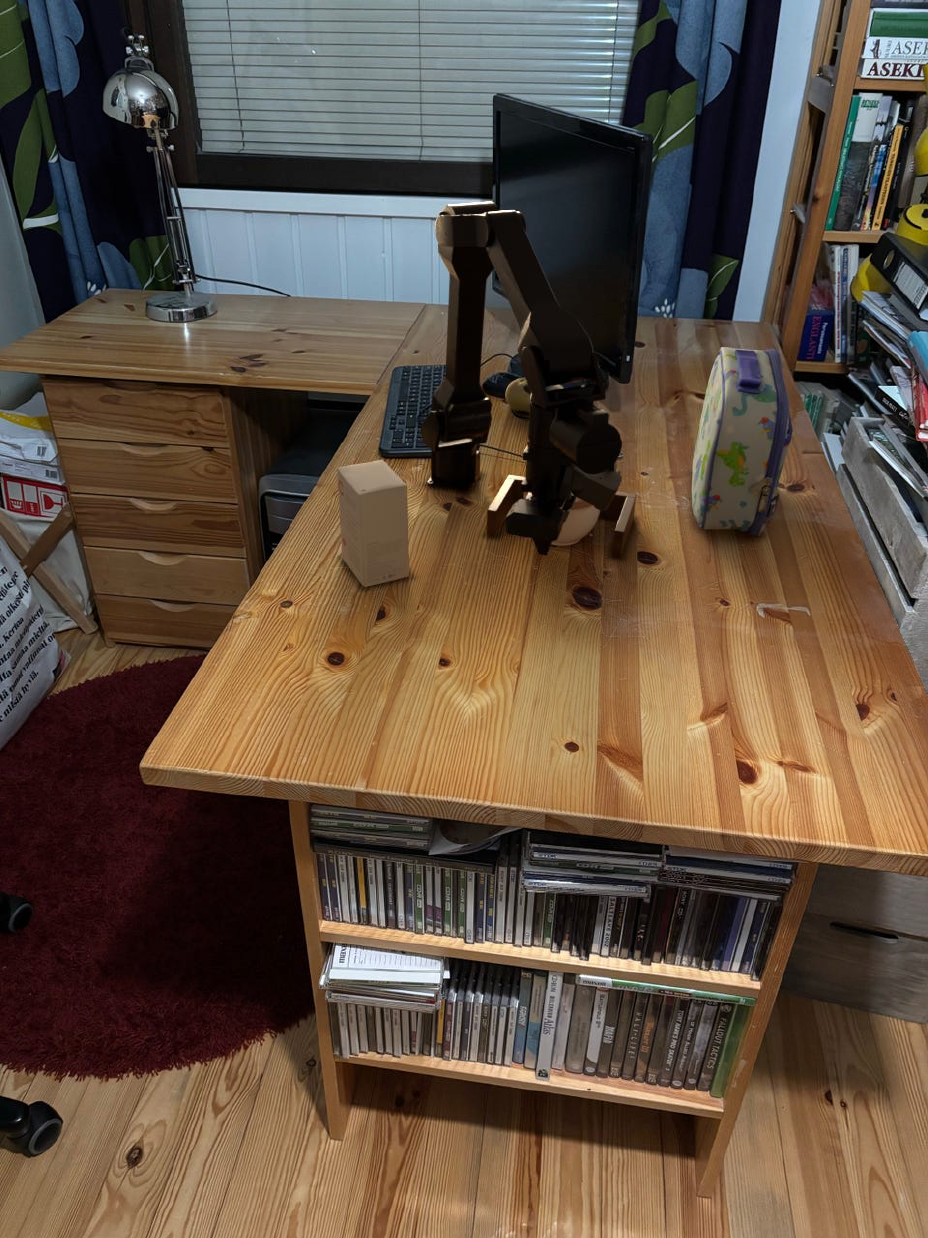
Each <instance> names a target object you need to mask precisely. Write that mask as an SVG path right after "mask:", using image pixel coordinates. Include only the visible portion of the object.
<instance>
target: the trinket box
mask: <svg viewBox="0 0 928 1238" xmlns="http://www.w3.org/2000/svg"><path fill="white" fill-rule="evenodd" d="M527 494H528V492H524V500H525V498H526V496H527ZM571 495H573V494H572V492H571ZM568 511H570V513H569V515H568V517H567V520H566V521H565V522H564V523H563V526H562V530H561V532H560V534H559V537H558V539H557V540H555V541H552V544H551V546H556V547H565V546H566V547H569V546H572V545H575V544H577V543H579V542H580V541H581V540H582V539H583V538H584V537H586V536H588V534H590V532H591V531H592V530H593V528H594V527H595V526H596V524H597V522H598V519H599V518H598V517H599V514H600V511H601V510H598V509H596V508H595V507H594V506H593V505H591V504H589V503H587V502H585V501H583V500H581V499H579V498H577V497H576V499H575V502H574V504H573V506H572V508H570V509H569V510H568Z"/></svg>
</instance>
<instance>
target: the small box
mask: <svg viewBox="0 0 928 1238" xmlns="http://www.w3.org/2000/svg"><path fill="white" fill-rule="evenodd" d="M336 479H337V493H338V494H337V495H338V508H339V510H338V511H339V525H340V527H339V528H340V542H341V543H340V544H341V558H342V560H343V561H344V562H345V564H346V565H347V567H348V568H349V569H350V570H351V572H352V573H353V575H354V576H355V578H356V579H357V580H358V582H359V583H360V584H361V585H362V587H363V588H368V587H371V586H376V585H380V584H385V583H389V582H393V581H397V580H400V579H404V578H408V577H410V556H409V555H410V554H409V511H408V508H409V507H408V484H407V483H405V481H404V480H403V479H402V478H401V477H400V476H399V475H398V474H397V473H396V472H395V471H394V469H392V467H390V465H388V464H387V462H386V461H384V459H378V460H373V461H368V462H361V463H356V464H349V465H345V466H339V467H337V468H336Z"/></svg>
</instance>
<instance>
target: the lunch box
mask: <svg viewBox="0 0 928 1238" xmlns="http://www.w3.org/2000/svg"><path fill="white" fill-rule="evenodd" d="M703 399H704V400H703V405H702V409H701V415H700V420H699V424H698V430H697V436H696V442H695V446H694V453H693V460H692V472H691V508H692V512H693V513H692V514H693V516H694V518H695V521H696V523H697V526H698V528H700V529H703V530H731V531H733V530H737V531H739V532H747V533H748V534H749V535H751V536H754V537H760V536H761V534H762V532H763V530H764V529H765V527H766V525H767V524H771V523H772V522H773V521H774V517H775V514H776V510H777V507H778V503H779V498H780V494H776V493H777V490H778V486H779V483H780V479H781V476H782V472H783V469H784V465H785V461H786V458H787V455H788V450H789V446H790V444H791V442H792V435H793V430H794V429H793V424H792V419H791V413H790V401H789V400H790V399H789V396H788V391H787V388H786V384H785V379H784V373H783V366H782V357H781V353H780V352H779V351H778V350H777V349H775V348H769V349H766V350H764V349H744V348H736V347H735V348H734V347H727V346H722V347H720V348H719V351H718V354H717V355H716V358H715V360H714V363H713V366H712V368H711V372H710V375H709V379H708V383H707V386H706V391H705V394H704V398H703Z"/></svg>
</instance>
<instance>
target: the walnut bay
mask: <svg viewBox="0 0 928 1238" xmlns="http://www.w3.org/2000/svg"><path fill="white" fill-rule="evenodd" d="M524 478H526V476H519V475H514V474H508V476H507V477H506V479H505V480H504V482H503V484H502V486H501V487H500V488H499V490H498V492H497V493H496V495H495V497H494V499H493V500H492V502H491V504H490V505H489V506H488V509H487V513H486V536H487V537H493V538H495V537H496V536H497V534H498V532H499V530H500V529H501V527H502V525H503V524H504V523H505V522H504V521H505V518H506V516H507V514H508V512H509V511H510V509H511V507H512V505H513V504H515V503H516V502H517V501H519V500H520V499H523V500H524V492H521V484H522V482H523V480H524ZM636 503H637V493H633V492H632V493H631V492H626V491H620V490H617V492H616V494H615V496H614V498H613V499H612V501H611V503H610V505H609V507H608V508H607V510H606V511H600V514H599V517H598V519H606V520H610V521H611V520H612V521H617V523H616V526H615V529H614V534H613V541H612V549H611V557H612V558H618V559H621V557H622V556H623V551H624V549H625V546H626V543H627V540H628V536H629V534H630V530H631V528H632V525H633V522H634V517H635V510H636Z"/></svg>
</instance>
